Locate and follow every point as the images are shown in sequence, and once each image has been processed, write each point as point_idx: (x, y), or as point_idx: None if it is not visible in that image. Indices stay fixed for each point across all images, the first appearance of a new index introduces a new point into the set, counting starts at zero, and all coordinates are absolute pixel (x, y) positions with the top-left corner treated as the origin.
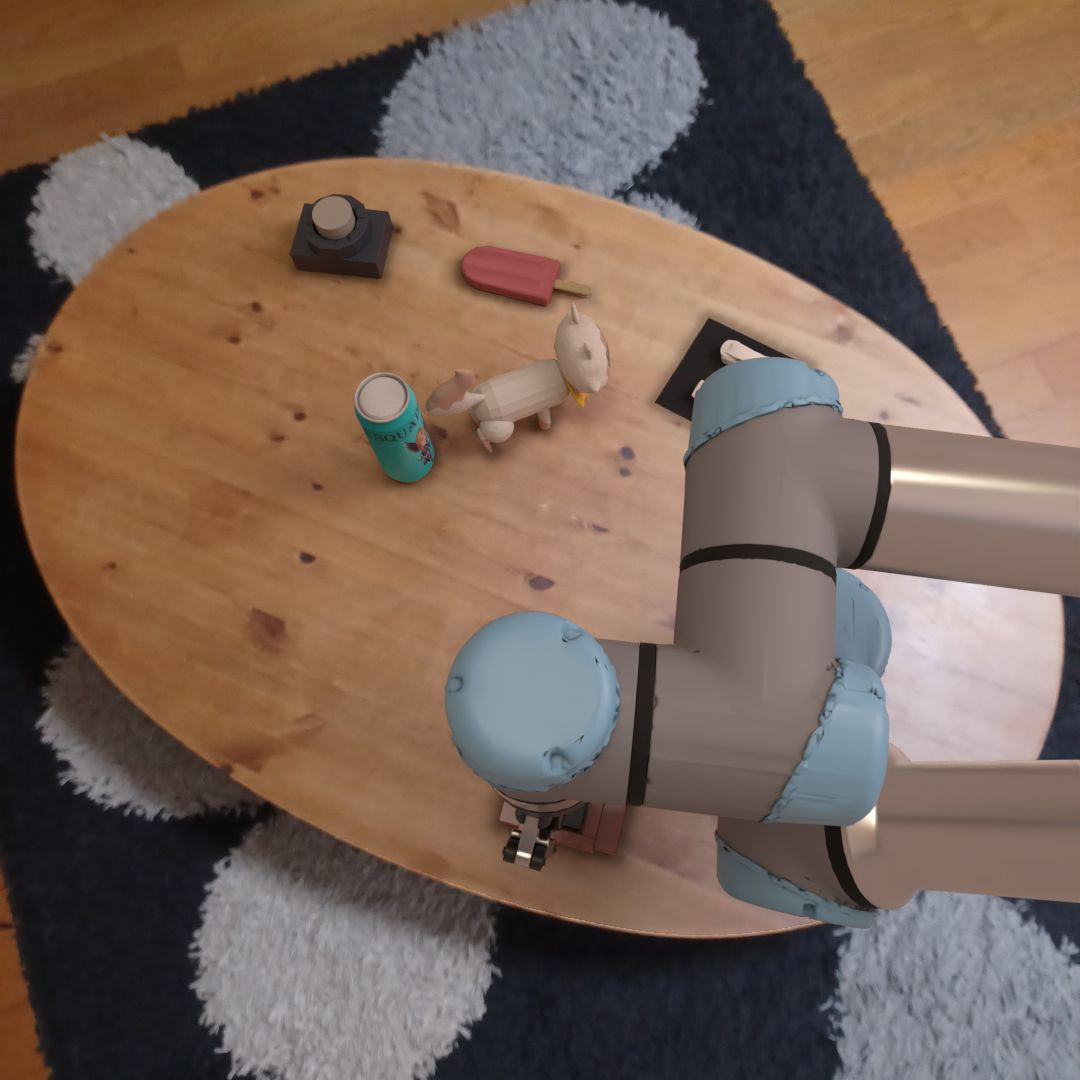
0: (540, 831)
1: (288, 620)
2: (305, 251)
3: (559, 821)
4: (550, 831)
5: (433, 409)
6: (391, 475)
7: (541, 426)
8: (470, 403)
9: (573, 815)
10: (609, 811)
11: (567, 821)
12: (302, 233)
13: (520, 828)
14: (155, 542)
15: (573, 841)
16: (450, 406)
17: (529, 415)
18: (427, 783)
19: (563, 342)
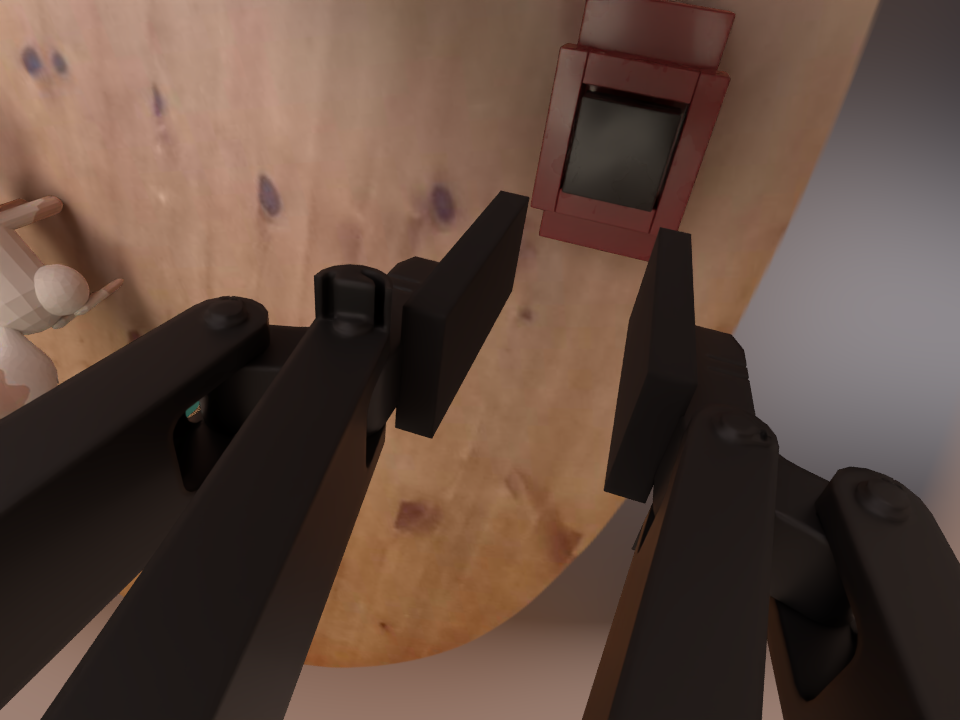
0: (779, 556)
1: (400, 498)
2: None
3: (762, 592)
4: (785, 519)
5: None
6: (192, 406)
7: (55, 211)
8: (14, 349)
9: (649, 133)
10: (639, 38)
11: (691, 258)
12: None
13: None
14: (352, 595)
15: (704, 123)
16: (18, 386)
17: (17, 245)
18: (590, 354)
19: None
